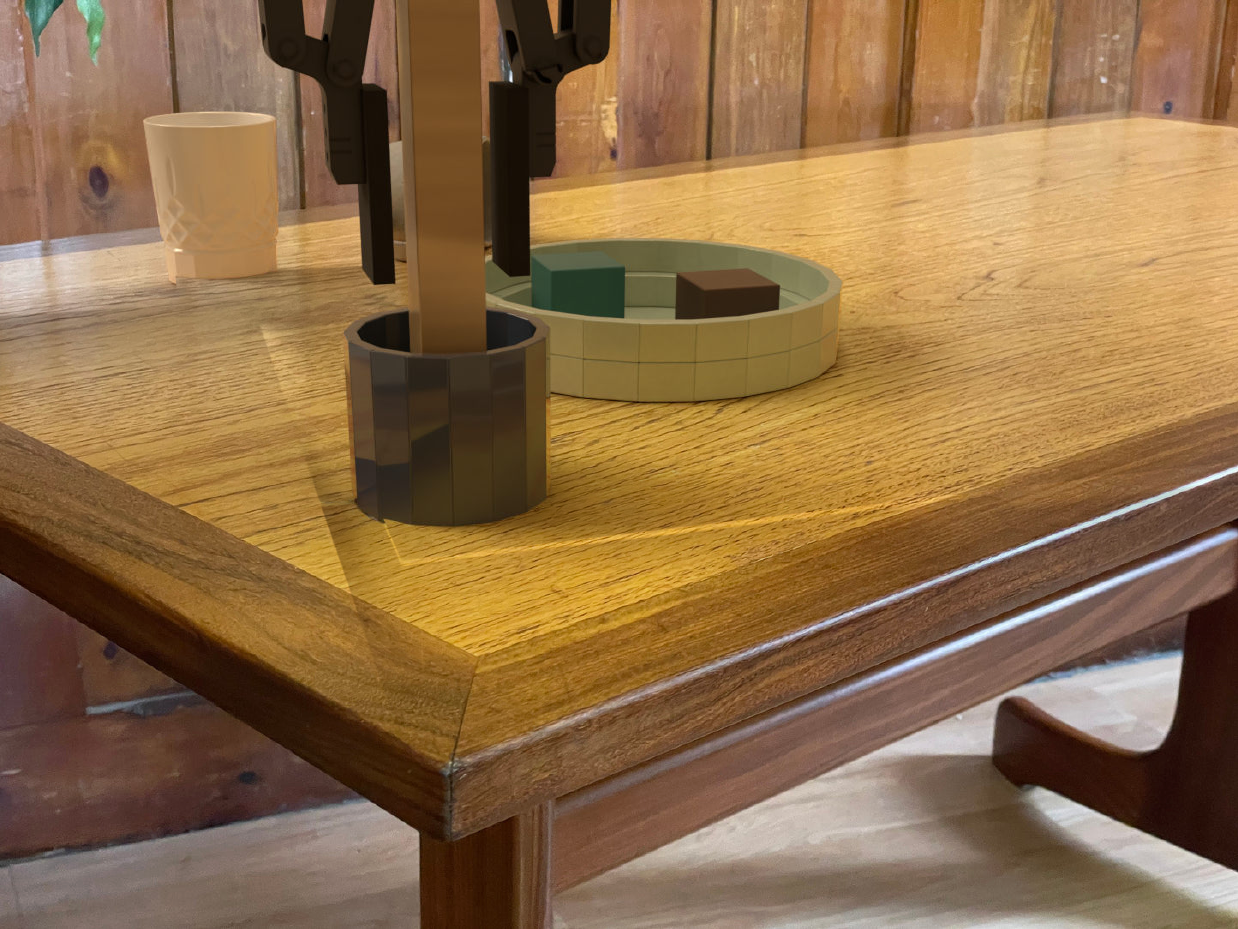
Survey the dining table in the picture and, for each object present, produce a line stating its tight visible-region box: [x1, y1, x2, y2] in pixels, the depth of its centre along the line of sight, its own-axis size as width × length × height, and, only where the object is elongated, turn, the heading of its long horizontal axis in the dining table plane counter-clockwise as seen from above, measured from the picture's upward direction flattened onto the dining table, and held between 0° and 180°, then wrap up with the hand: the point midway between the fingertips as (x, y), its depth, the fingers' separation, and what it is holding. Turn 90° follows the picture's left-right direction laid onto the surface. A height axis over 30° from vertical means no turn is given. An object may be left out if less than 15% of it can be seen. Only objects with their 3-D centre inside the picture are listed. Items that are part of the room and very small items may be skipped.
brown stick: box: [395, 0, 487, 354], centre depth 49 cm, size 2×2×20 cm
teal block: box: [531, 251, 625, 319], centre depth 73 cm, size 4×4×4 cm
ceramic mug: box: [389, 135, 492, 262], centre depth 96 cm, size 11×8×8 cm
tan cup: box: [142, 111, 279, 285], centre depth 86 cm, size 8×8×10 cm
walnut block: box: [675, 268, 780, 320], centre depth 69 cm, size 4×4×4 cm
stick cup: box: [342, 306, 552, 528], centre depth 51 cm, size 7×7×7 cm
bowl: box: [485, 237, 844, 403], centre depth 71 cm, size 19×19×4 cm
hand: (445, 270), depth 49 cm, fingers open, 4 cm apart
